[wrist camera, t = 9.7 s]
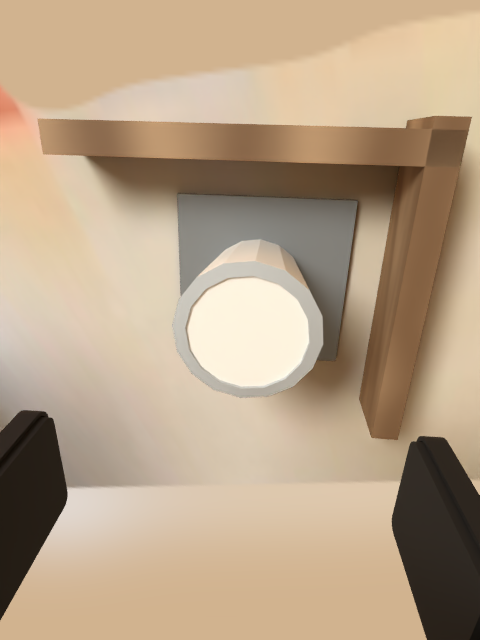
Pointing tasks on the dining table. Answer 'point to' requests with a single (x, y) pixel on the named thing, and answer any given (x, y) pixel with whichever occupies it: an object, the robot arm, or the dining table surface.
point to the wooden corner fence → (334, 148)
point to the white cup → (249, 322)
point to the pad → (275, 242)
